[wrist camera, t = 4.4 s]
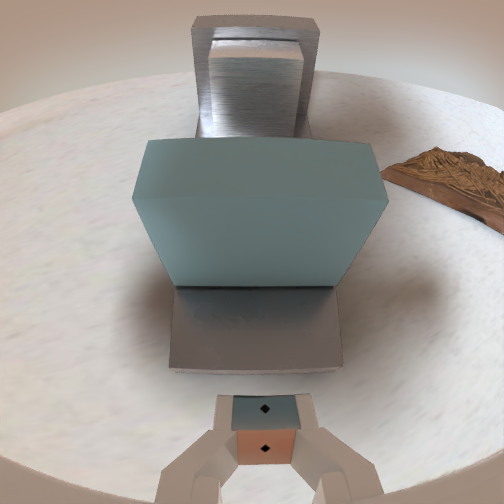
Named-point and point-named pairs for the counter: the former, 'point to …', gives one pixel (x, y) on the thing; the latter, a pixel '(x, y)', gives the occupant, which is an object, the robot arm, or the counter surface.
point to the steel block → (255, 87)
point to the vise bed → (254, 297)
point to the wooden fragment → (454, 183)
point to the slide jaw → (258, 208)
